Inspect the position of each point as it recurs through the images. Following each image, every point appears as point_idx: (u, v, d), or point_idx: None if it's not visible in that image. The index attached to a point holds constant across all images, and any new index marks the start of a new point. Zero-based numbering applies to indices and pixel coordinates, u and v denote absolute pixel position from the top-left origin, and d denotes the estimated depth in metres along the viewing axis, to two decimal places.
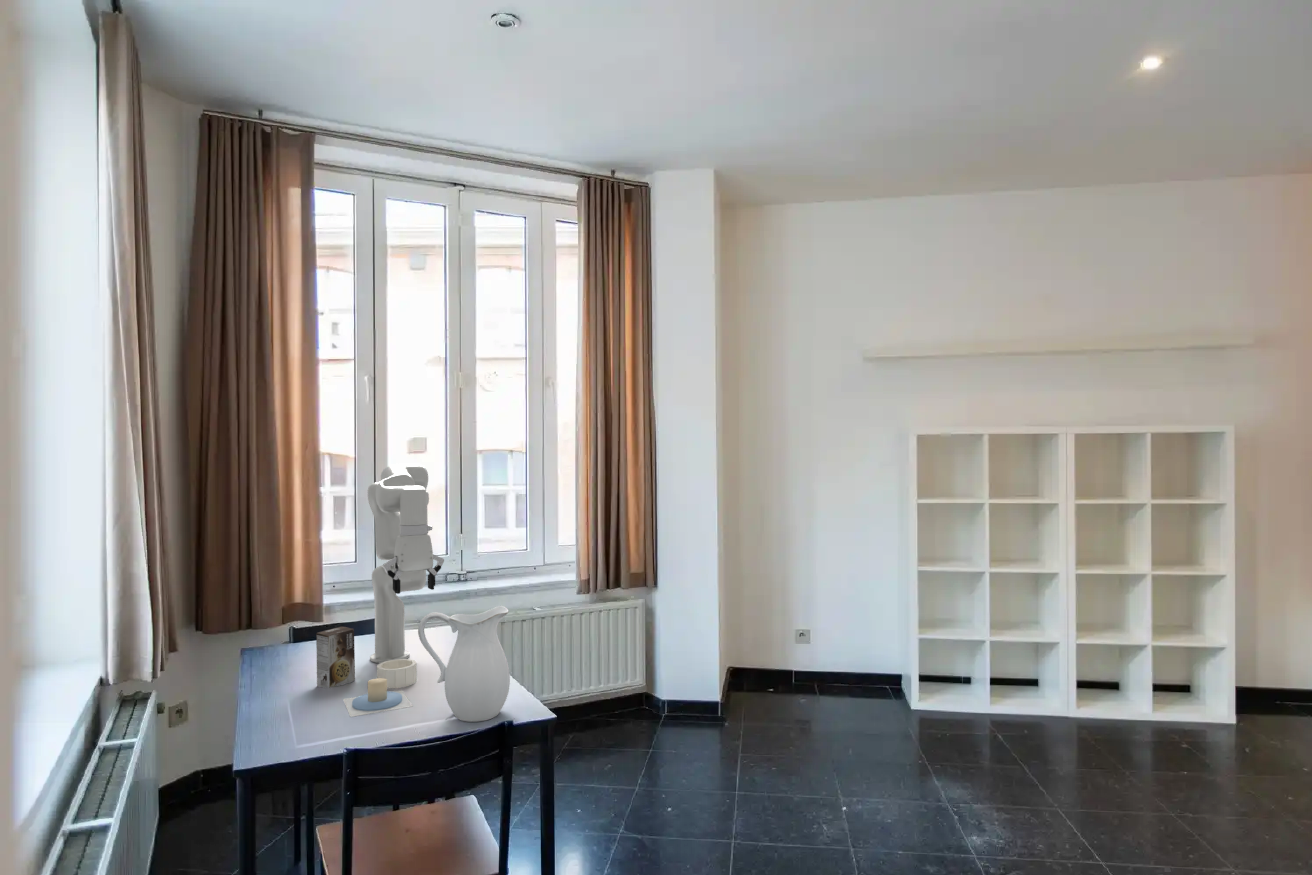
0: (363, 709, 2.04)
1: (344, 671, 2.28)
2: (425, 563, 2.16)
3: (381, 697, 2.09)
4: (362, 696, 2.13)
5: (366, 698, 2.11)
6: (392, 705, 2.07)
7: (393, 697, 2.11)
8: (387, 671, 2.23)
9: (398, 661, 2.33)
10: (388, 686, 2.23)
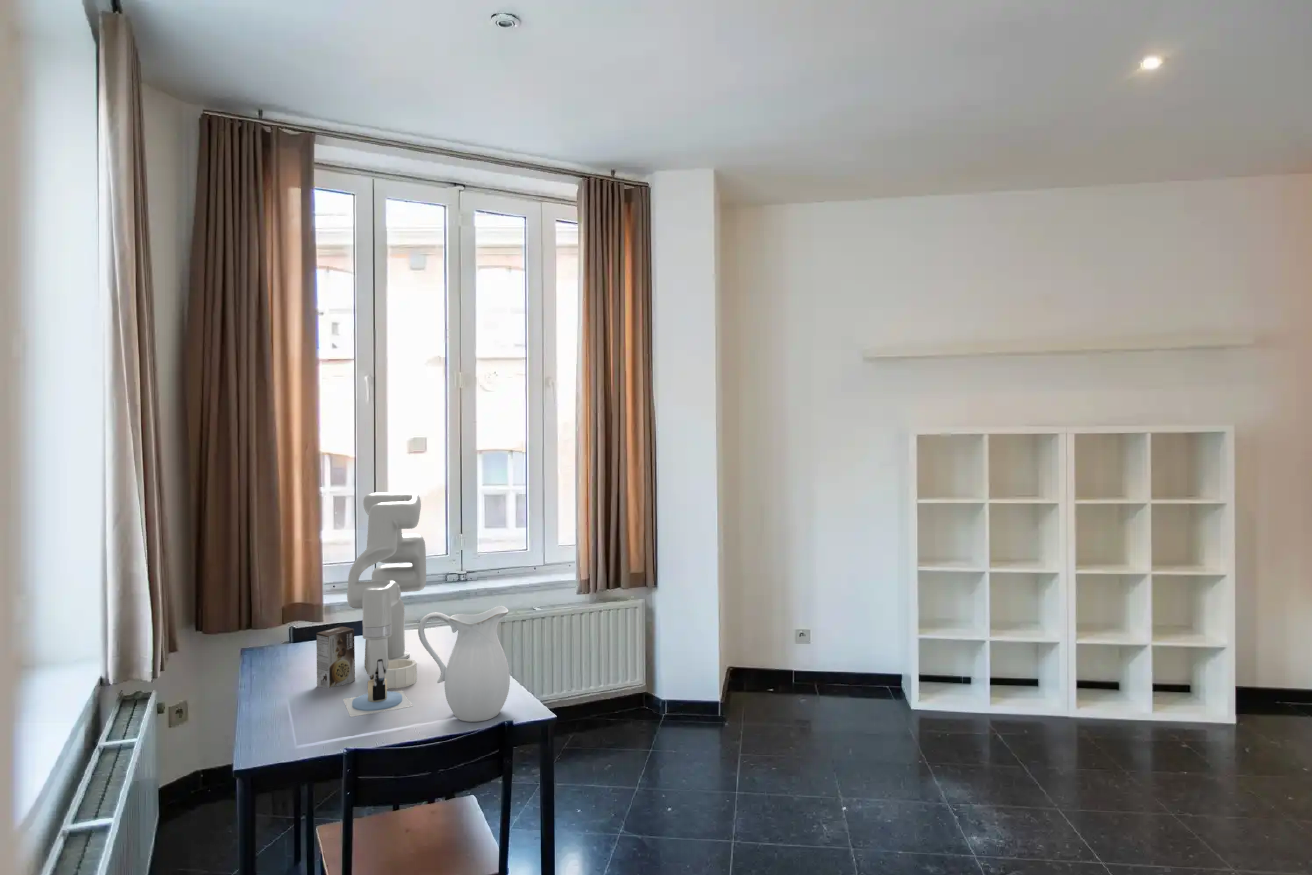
0: (363, 709, 2.04)
1: (344, 671, 2.28)
2: None
3: None
4: (362, 696, 2.13)
5: (366, 698, 2.11)
6: (392, 705, 2.07)
7: (393, 697, 2.11)
8: (387, 671, 2.23)
9: (398, 661, 2.33)
10: (388, 686, 2.23)
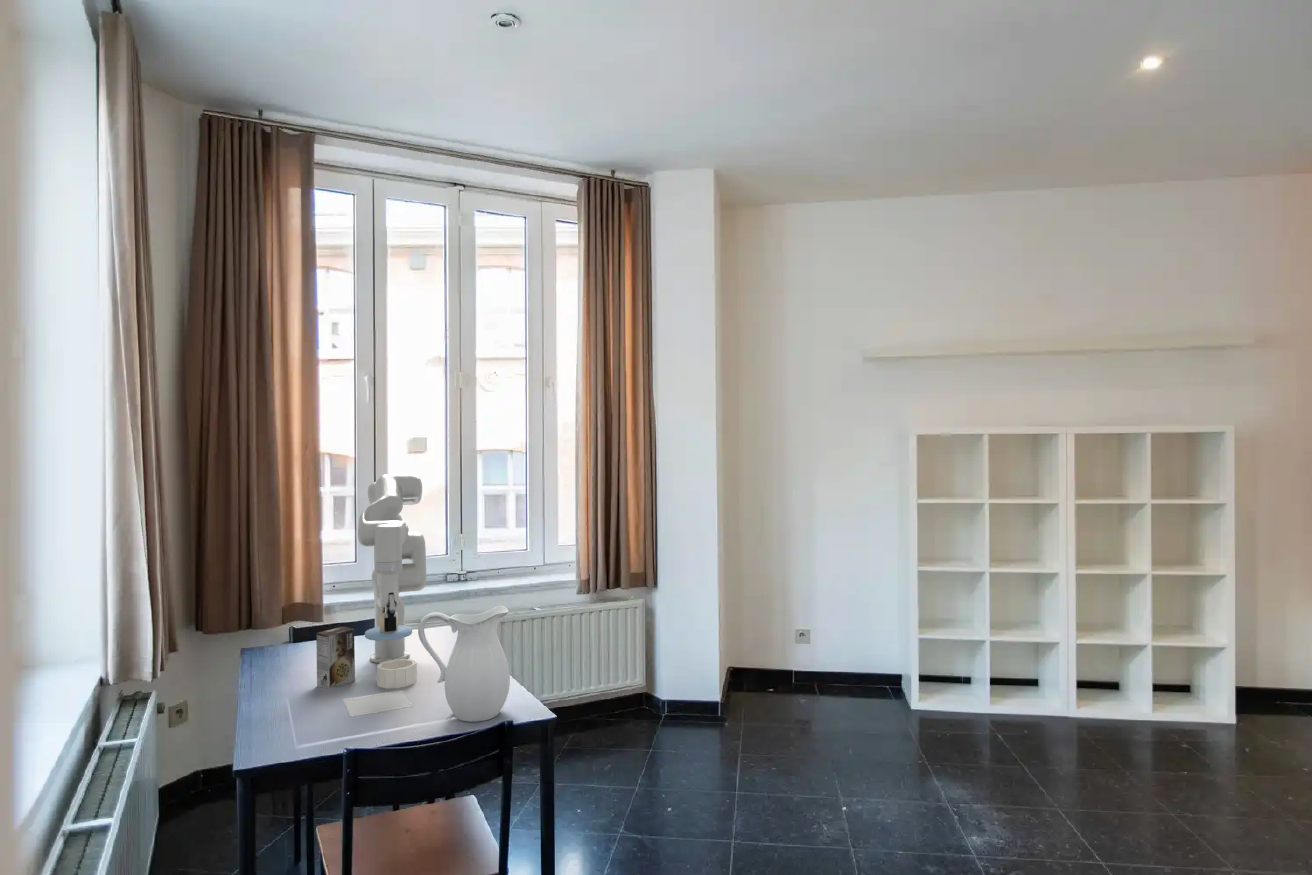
0: (375, 639, 2.15)
1: (344, 671, 2.28)
2: None
3: None
4: (374, 628, 2.24)
5: (378, 630, 2.22)
6: (403, 636, 2.17)
7: (404, 630, 2.22)
8: (387, 671, 2.23)
9: (398, 661, 2.33)
10: (388, 686, 2.23)
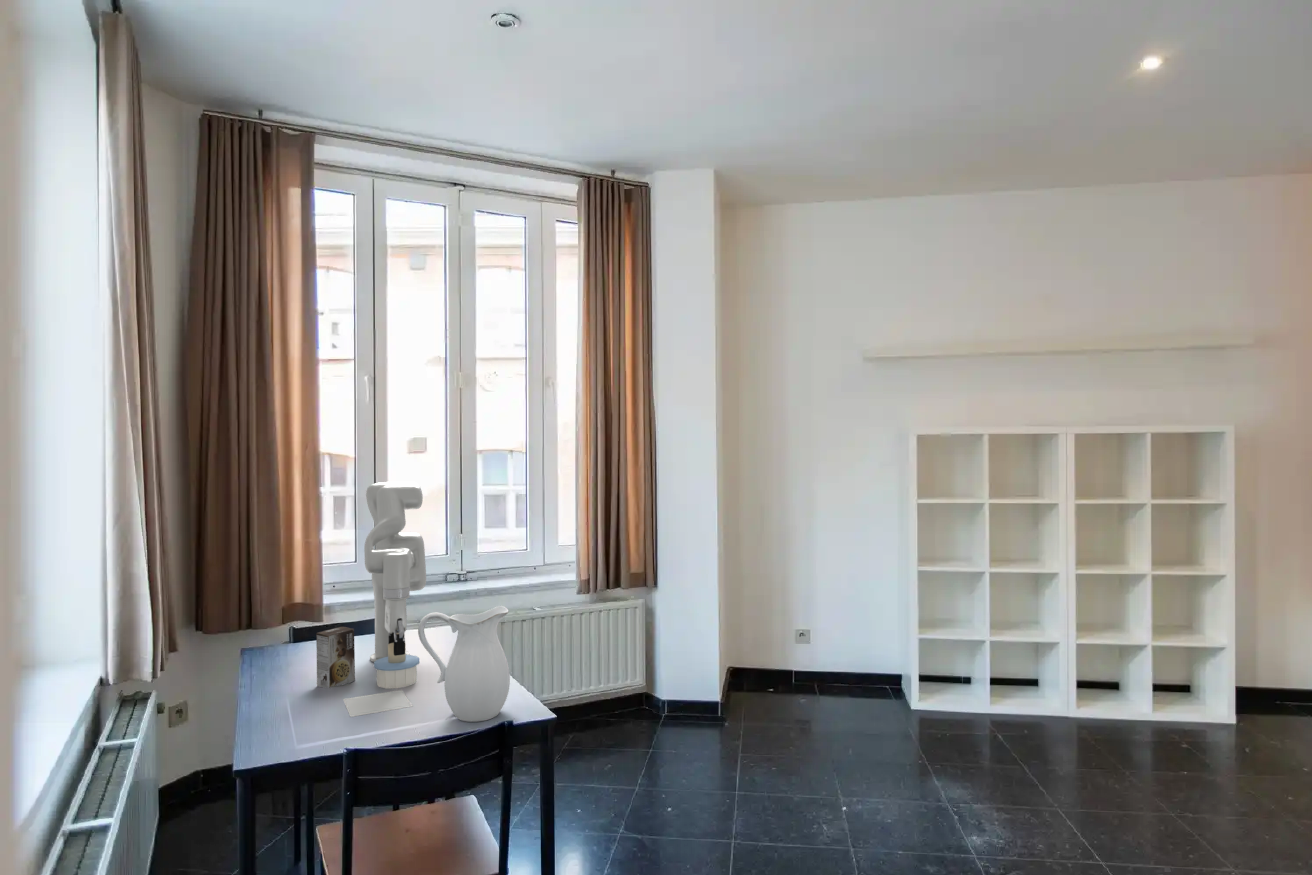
0: (384, 669, 2.22)
1: (344, 671, 2.28)
2: None
3: (400, 658, 2.27)
4: (382, 658, 2.31)
5: (386, 660, 2.29)
6: (411, 666, 2.25)
7: (411, 659, 2.29)
8: (387, 671, 2.23)
9: None
10: (388, 686, 2.23)
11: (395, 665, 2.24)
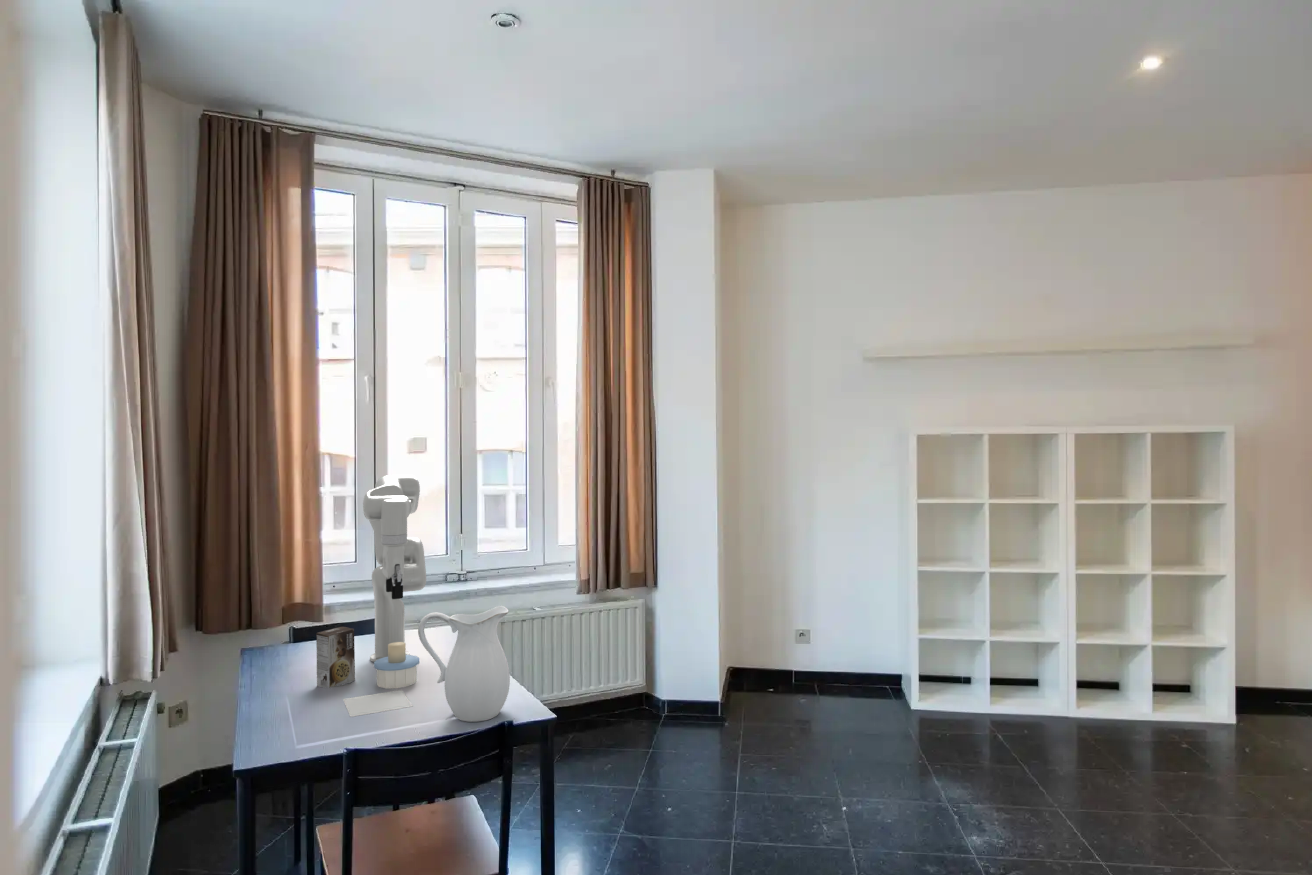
0: (384, 669, 2.22)
1: (344, 671, 2.28)
2: None
3: (400, 658, 2.27)
4: (382, 658, 2.31)
5: (386, 660, 2.29)
6: (411, 666, 2.25)
7: (411, 659, 2.29)
8: (387, 671, 2.23)
9: None
10: (388, 686, 2.23)
11: (395, 665, 2.24)
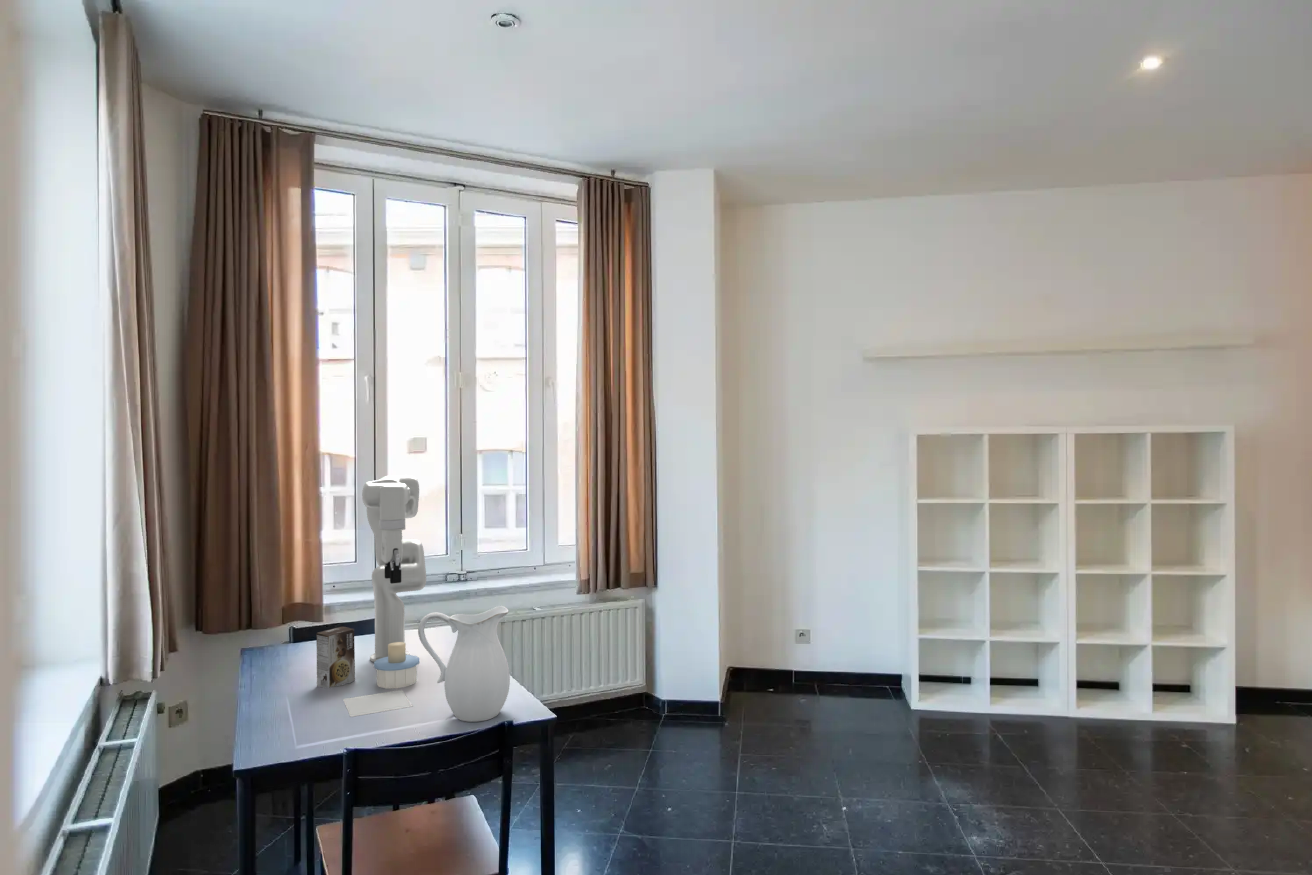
0: (384, 669, 2.22)
1: (344, 671, 2.28)
2: None
3: (400, 658, 2.27)
4: (382, 658, 2.31)
5: (386, 660, 2.29)
6: (411, 666, 2.25)
7: (411, 659, 2.29)
8: (387, 671, 2.23)
9: None
10: (388, 686, 2.23)
11: (395, 665, 2.24)
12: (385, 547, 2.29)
